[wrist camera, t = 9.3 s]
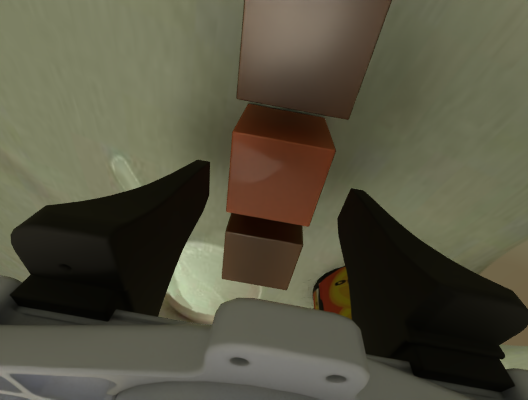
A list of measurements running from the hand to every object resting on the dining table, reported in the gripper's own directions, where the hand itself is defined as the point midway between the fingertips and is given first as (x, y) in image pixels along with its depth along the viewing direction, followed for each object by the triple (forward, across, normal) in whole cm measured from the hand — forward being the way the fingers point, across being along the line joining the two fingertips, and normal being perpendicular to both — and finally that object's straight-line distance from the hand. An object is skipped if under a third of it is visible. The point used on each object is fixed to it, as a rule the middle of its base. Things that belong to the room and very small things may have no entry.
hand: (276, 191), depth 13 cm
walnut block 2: (+6, 0, -6) cm, 9 cm away
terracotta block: (+6, 0, 0) cm, 6 cm away
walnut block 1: (+6, 0, +6) cm, 9 cm away
